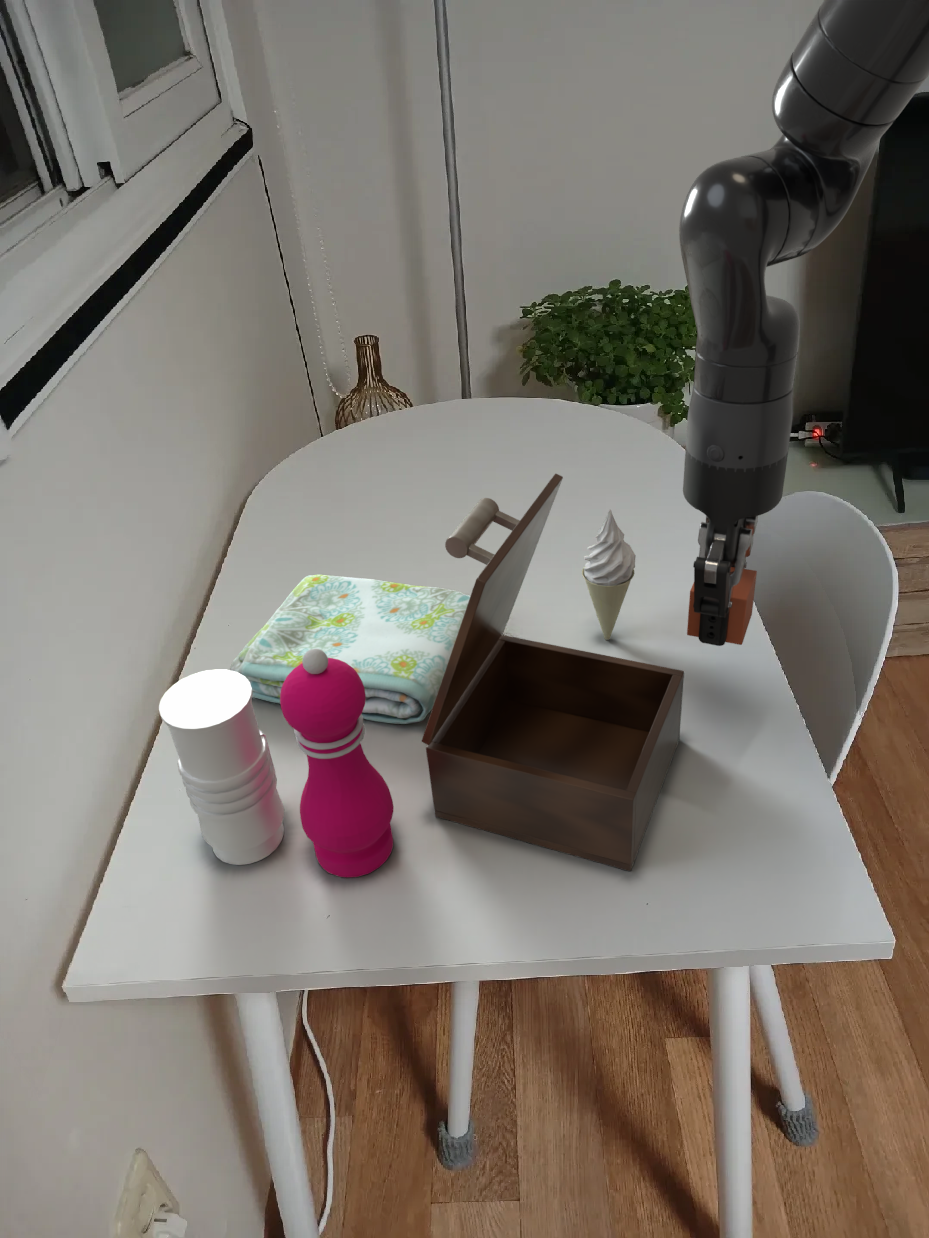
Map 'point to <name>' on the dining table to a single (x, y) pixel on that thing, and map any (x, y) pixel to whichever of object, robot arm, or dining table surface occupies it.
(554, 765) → the chest
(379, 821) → the pepper mill
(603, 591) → the ice cream cone
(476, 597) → the lid
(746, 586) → the block
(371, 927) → the dining table surface
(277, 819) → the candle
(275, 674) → the towel
